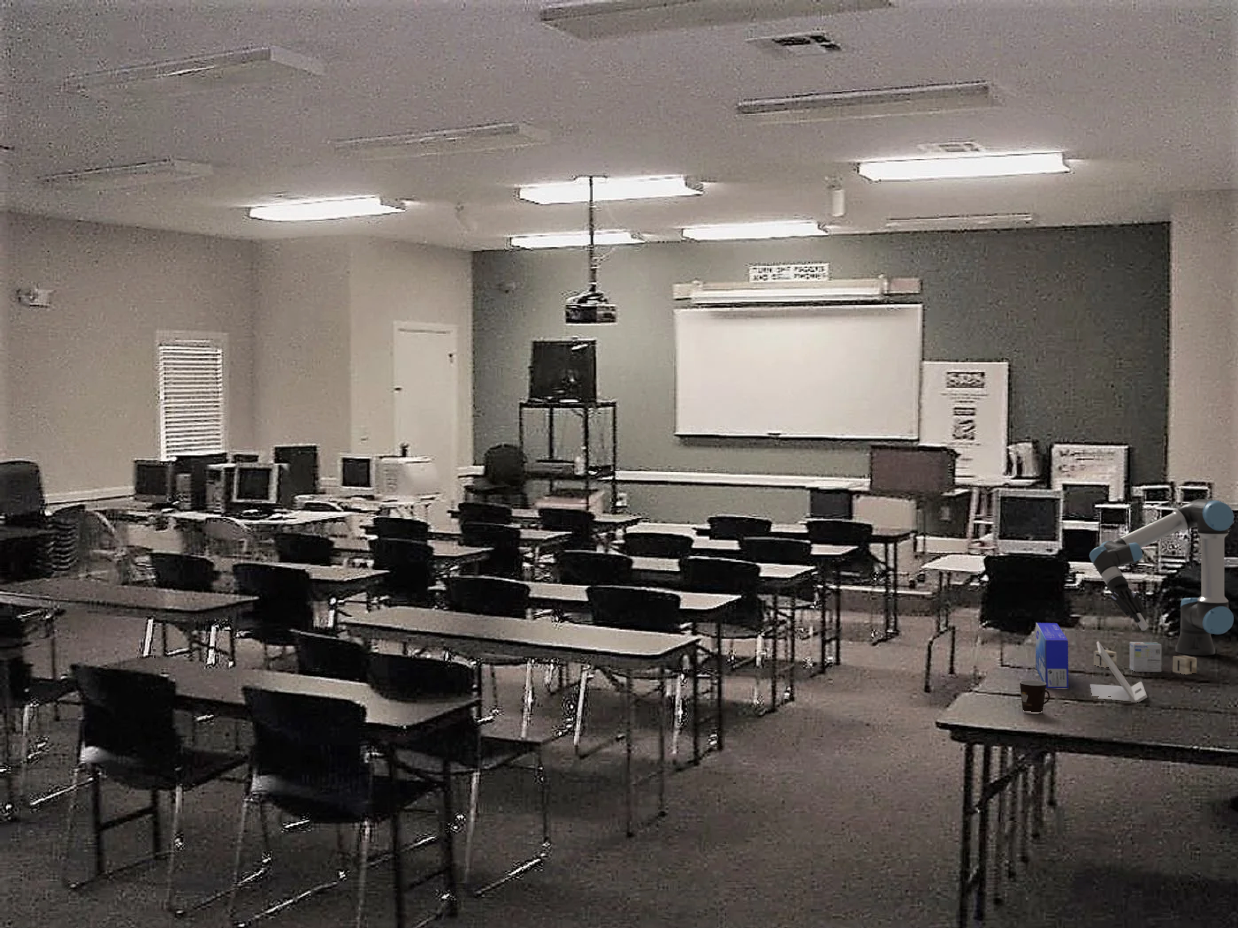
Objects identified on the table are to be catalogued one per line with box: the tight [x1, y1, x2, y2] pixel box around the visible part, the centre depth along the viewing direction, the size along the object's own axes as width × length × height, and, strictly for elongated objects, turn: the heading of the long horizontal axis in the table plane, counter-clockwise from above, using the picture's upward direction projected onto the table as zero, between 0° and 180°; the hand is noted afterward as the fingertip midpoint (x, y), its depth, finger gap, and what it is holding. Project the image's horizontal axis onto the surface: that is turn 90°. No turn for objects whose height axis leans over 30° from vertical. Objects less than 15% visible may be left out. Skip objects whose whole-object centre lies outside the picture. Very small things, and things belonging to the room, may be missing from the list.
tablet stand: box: [1089, 641, 1148, 703], centre depth 480 cm, size 18×25×17 cm
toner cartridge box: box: [1035, 622, 1069, 689], centre depth 507 cm, size 39×8×18 cm, turn 168°
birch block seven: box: [1093, 649, 1117, 669], centre depth 532 cm, size 6×6×6 cm
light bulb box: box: [1129, 641, 1162, 673], centre depth 524 cm, size 11×7×11 cm, turn 85°
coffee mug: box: [1019, 679, 1051, 712], centre depth 449 cm, size 12×9×10 cm
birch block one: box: [1172, 655, 1198, 675], centre depth 520 cm, size 6×6×6 cm
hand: (1145, 628), depth 524 cm, fingers closed
